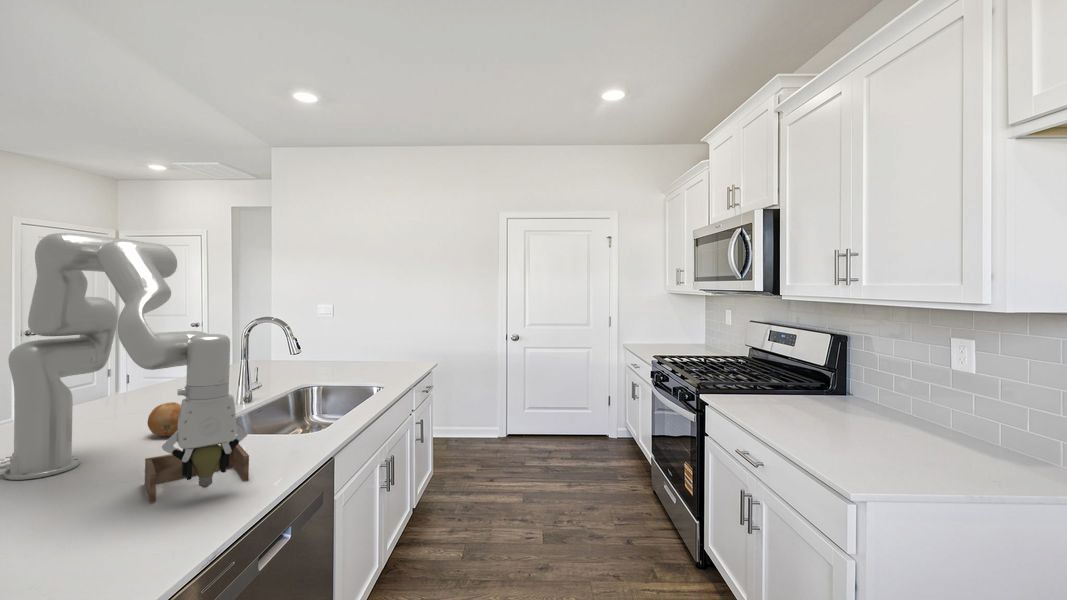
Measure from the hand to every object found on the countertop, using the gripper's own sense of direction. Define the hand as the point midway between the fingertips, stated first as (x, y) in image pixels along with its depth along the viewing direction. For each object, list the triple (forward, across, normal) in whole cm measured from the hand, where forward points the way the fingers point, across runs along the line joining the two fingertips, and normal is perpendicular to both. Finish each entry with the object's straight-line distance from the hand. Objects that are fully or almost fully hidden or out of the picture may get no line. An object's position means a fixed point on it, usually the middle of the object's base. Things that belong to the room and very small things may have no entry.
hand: (205, 473), depth 98 cm
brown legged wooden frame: (+5, 0, +10) cm, 12 cm away
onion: (+6, -1, +55) cm, 55 cm away
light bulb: (+3, 0, 0) cm, 3 cm away
